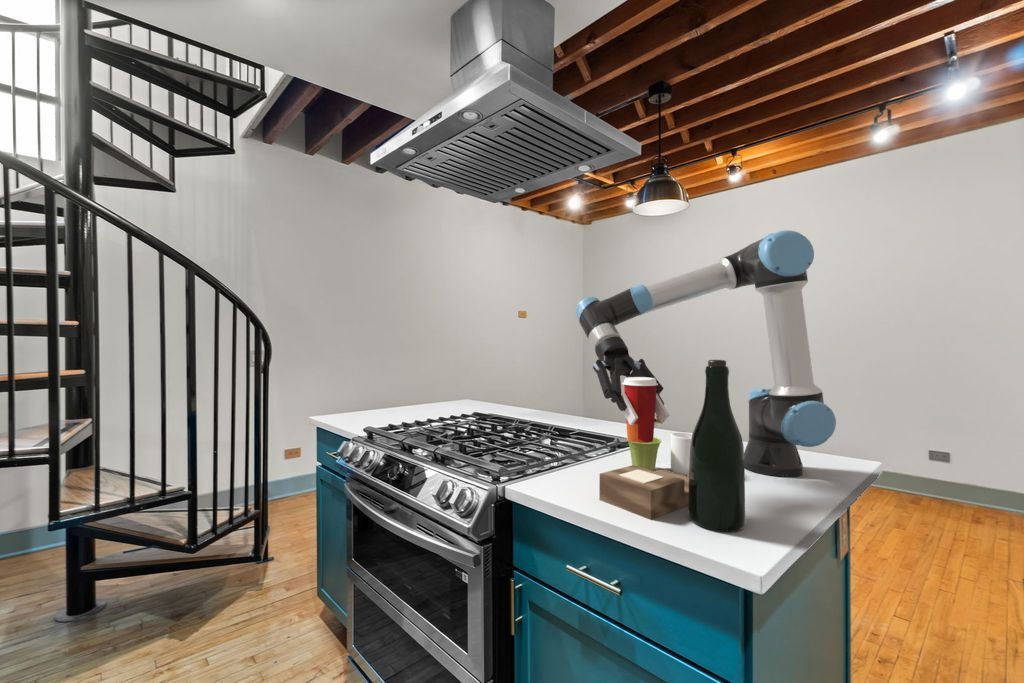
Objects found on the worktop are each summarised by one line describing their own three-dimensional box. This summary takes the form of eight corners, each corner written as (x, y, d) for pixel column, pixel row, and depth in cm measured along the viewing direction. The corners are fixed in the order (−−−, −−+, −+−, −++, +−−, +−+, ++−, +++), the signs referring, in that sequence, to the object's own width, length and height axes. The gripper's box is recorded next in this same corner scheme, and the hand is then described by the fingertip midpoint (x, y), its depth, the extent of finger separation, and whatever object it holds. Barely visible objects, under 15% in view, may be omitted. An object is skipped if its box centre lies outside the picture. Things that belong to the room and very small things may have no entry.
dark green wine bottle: (729, 512, 95) (730, 358, 95) (755, 533, 85) (757, 361, 84) (680, 511, 95) (681, 358, 95) (700, 533, 85) (701, 360, 85)
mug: (714, 480, 117) (714, 441, 117) (683, 480, 116) (683, 441, 116) (694, 467, 129) (694, 432, 129) (666, 467, 128) (666, 432, 128)
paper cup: (660, 438, 102) (660, 377, 102) (655, 445, 95) (655, 380, 95) (625, 435, 106) (625, 376, 106) (619, 441, 99) (618, 379, 99)
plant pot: (665, 474, 122) (665, 443, 122) (631, 474, 122) (631, 442, 122) (655, 465, 131) (655, 435, 131) (623, 464, 131) (623, 435, 131)
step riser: (662, 480, 117) (662, 456, 116) (713, 495, 105) (713, 469, 105) (599, 499, 102) (599, 472, 102) (650, 519, 91) (650, 489, 91)
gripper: (635, 355, 118) (678, 426, 103) (567, 356, 111) (603, 433, 96) (648, 335, 113) (695, 407, 98) (578, 334, 106) (617, 412, 91)
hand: (649, 420), depth 97 cm, fingers closed on paper cup, 8 cm apart
